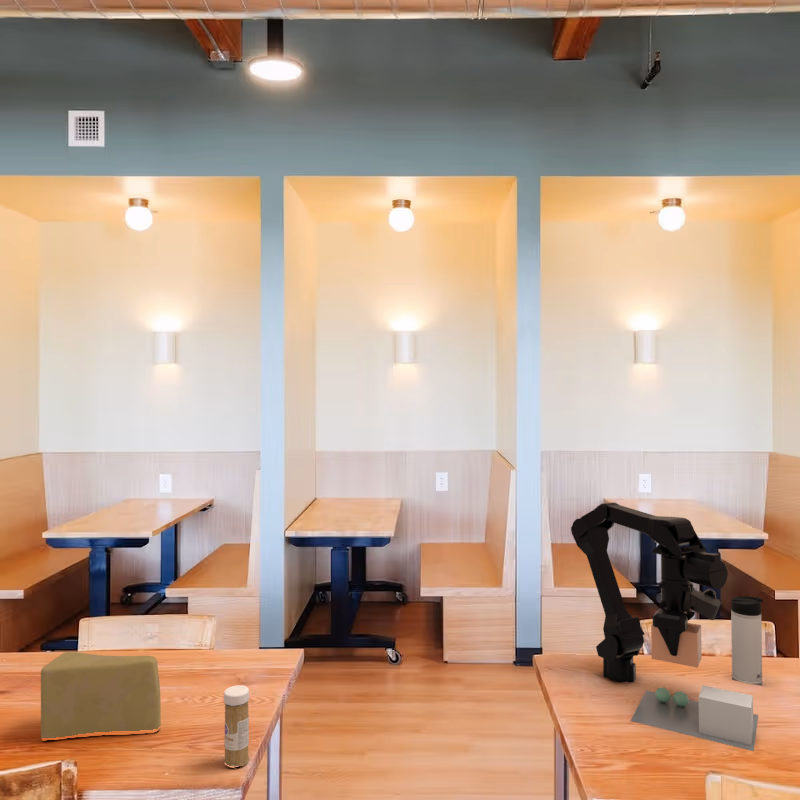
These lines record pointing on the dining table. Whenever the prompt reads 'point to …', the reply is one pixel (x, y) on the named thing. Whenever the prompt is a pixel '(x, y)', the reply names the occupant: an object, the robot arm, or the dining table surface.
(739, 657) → the travel mug
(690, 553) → the robot arm
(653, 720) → the slate board
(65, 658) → the cheese
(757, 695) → the dining table surface
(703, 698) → the light grey rectangular block
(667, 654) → the tan block
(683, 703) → the marble
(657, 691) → the marble
